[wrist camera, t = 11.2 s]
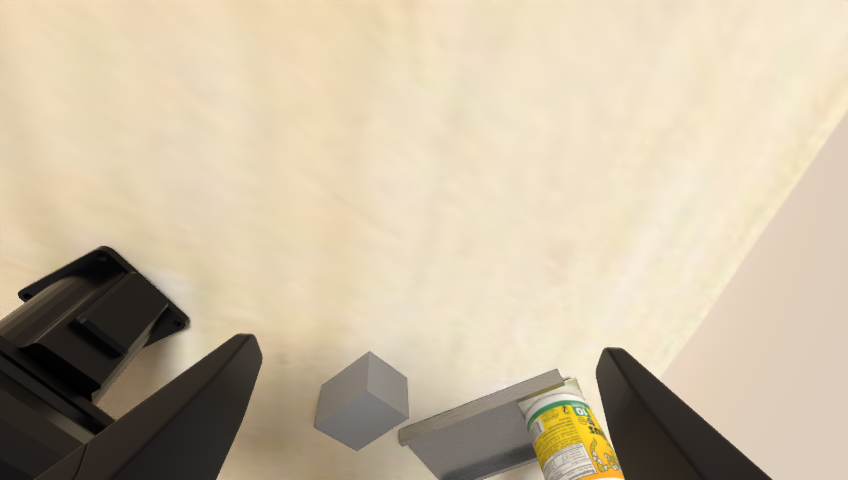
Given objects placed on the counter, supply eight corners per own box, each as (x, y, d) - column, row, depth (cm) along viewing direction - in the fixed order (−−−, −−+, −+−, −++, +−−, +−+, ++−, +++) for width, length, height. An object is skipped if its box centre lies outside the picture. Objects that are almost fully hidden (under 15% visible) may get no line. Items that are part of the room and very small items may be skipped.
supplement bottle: (513, 409, 29) (563, 556, 21) (574, 381, 28) (653, 525, 20) (538, 440, 32) (592, 584, 23) (596, 416, 31) (673, 557, 22)
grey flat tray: (443, 479, 34) (444, 492, 33) (399, 429, 30) (399, 443, 29) (594, 425, 32) (601, 438, 31) (569, 364, 28) (576, 376, 27)
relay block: (360, 407, 29) (356, 451, 26) (322, 384, 27) (313, 427, 24) (406, 376, 28) (409, 417, 24) (369, 349, 26) (366, 390, 23)
